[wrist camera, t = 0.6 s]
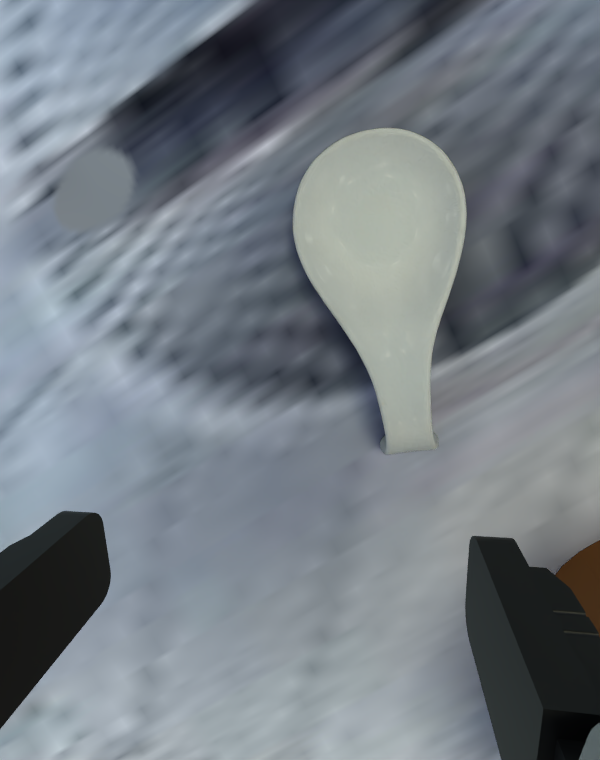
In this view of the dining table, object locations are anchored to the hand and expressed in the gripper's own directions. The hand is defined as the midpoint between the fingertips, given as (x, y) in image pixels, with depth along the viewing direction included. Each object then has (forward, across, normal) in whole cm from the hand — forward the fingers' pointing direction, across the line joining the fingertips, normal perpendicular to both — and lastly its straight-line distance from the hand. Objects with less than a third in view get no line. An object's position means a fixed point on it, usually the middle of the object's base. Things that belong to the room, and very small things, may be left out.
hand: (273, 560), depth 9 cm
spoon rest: (+28, -4, -3) cm, 28 cm away
